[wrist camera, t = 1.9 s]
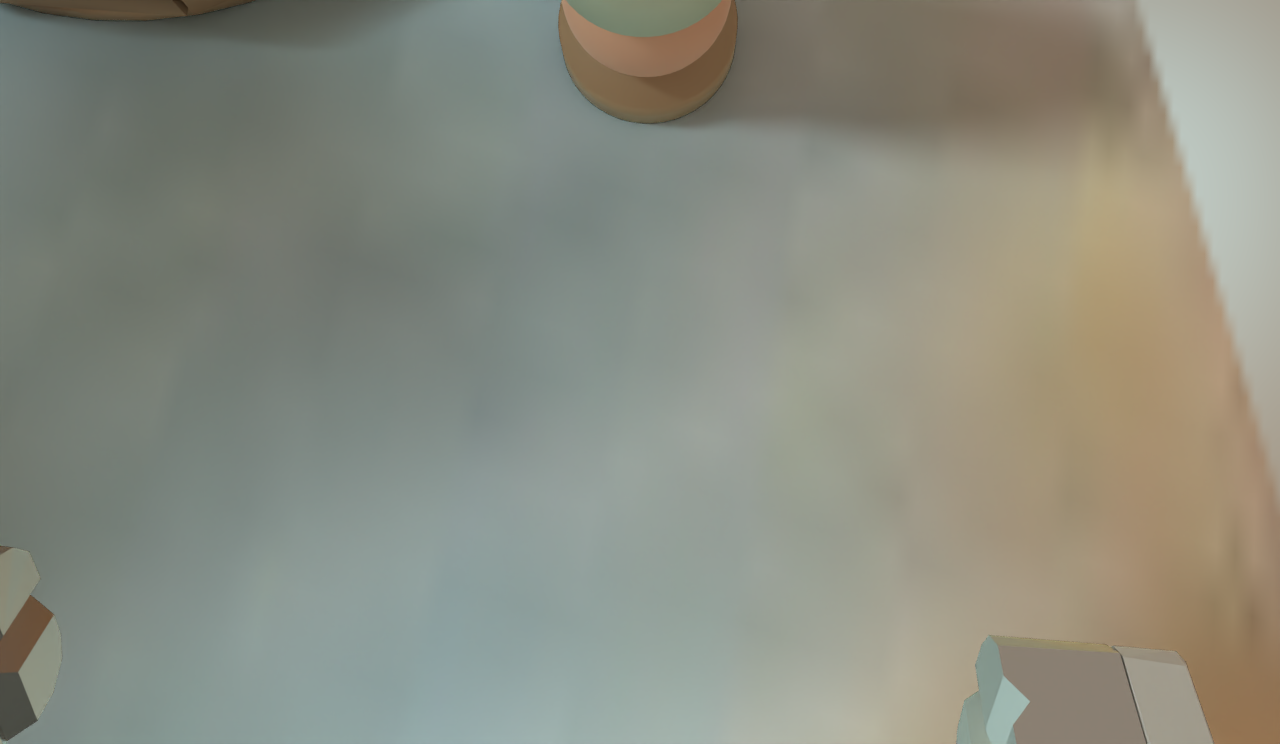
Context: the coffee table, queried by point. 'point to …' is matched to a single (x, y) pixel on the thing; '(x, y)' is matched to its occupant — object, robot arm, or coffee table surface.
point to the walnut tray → (125, 8)
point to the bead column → (648, 54)
